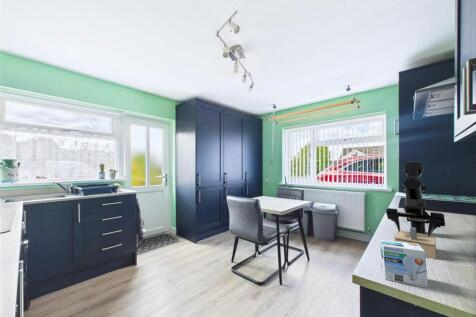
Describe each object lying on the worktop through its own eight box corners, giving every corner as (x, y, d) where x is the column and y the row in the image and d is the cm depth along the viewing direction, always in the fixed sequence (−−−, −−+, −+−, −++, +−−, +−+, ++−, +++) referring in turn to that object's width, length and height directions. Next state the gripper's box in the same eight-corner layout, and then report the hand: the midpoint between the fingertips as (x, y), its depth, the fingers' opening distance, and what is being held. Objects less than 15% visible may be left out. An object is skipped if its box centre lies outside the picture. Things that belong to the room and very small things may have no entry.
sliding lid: (398, 231, 92) (397, 220, 92) (435, 237, 83) (434, 225, 84) (394, 238, 84) (393, 226, 84) (435, 245, 75) (434, 232, 75)
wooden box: (400, 242, 92) (399, 232, 92) (436, 249, 83) (435, 238, 83) (396, 250, 83) (395, 238, 84) (435, 259, 75) (434, 246, 75)
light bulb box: (384, 280, 62) (382, 245, 63) (381, 270, 68) (378, 238, 69) (429, 288, 57) (426, 251, 58) (421, 277, 63) (418, 243, 64)
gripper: (385, 190, 92) (381, 218, 84) (442, 193, 78) (445, 226, 70) (389, 205, 97) (386, 233, 88) (443, 210, 83) (446, 243, 75)
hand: (413, 233), depth 80 cm, fingers open, 9 cm apart
